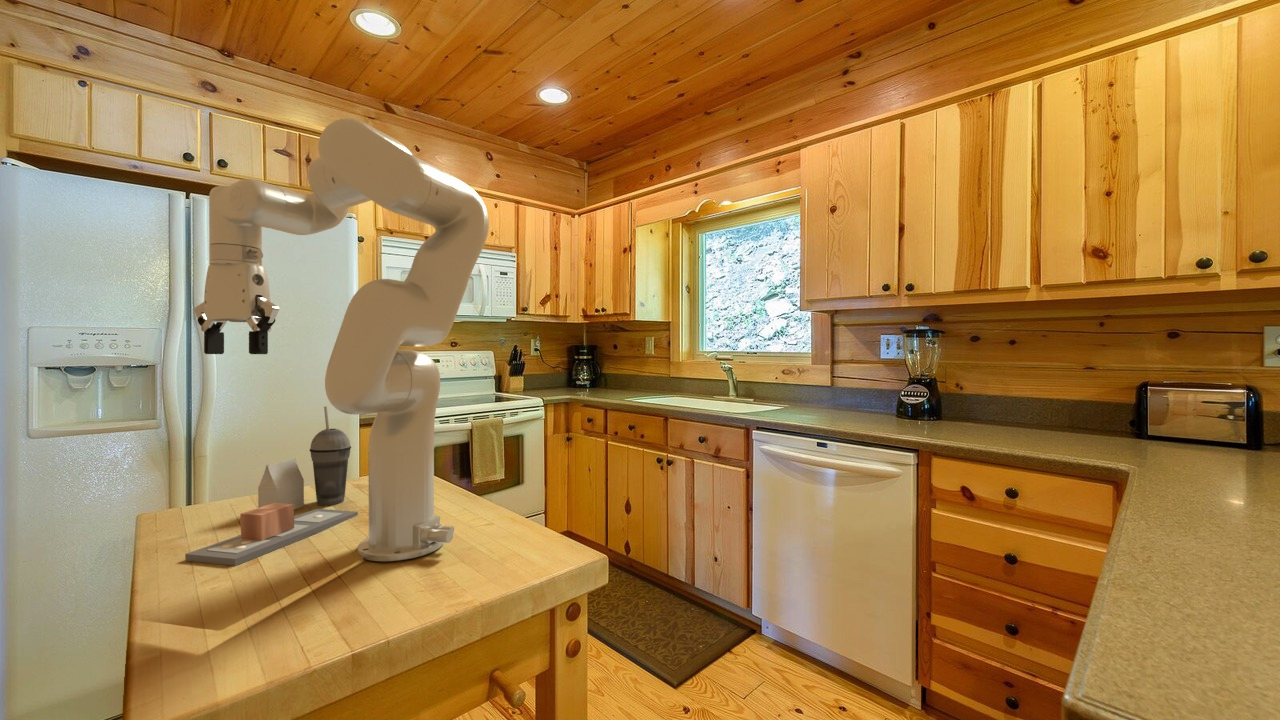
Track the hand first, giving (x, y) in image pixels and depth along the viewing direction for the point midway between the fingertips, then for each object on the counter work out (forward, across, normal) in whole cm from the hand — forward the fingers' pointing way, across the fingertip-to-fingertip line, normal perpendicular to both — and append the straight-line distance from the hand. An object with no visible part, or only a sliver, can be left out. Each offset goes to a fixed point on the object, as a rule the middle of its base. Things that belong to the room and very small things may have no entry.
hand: (236, 354), depth 96 cm
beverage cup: (+31, -8, -13) cm, 34 cm away
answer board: (+30, -14, +4) cm, 34 cm away
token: (+27, -14, +3) cm, 30 cm away
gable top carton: (+31, -3, -6) cm, 32 cm away
